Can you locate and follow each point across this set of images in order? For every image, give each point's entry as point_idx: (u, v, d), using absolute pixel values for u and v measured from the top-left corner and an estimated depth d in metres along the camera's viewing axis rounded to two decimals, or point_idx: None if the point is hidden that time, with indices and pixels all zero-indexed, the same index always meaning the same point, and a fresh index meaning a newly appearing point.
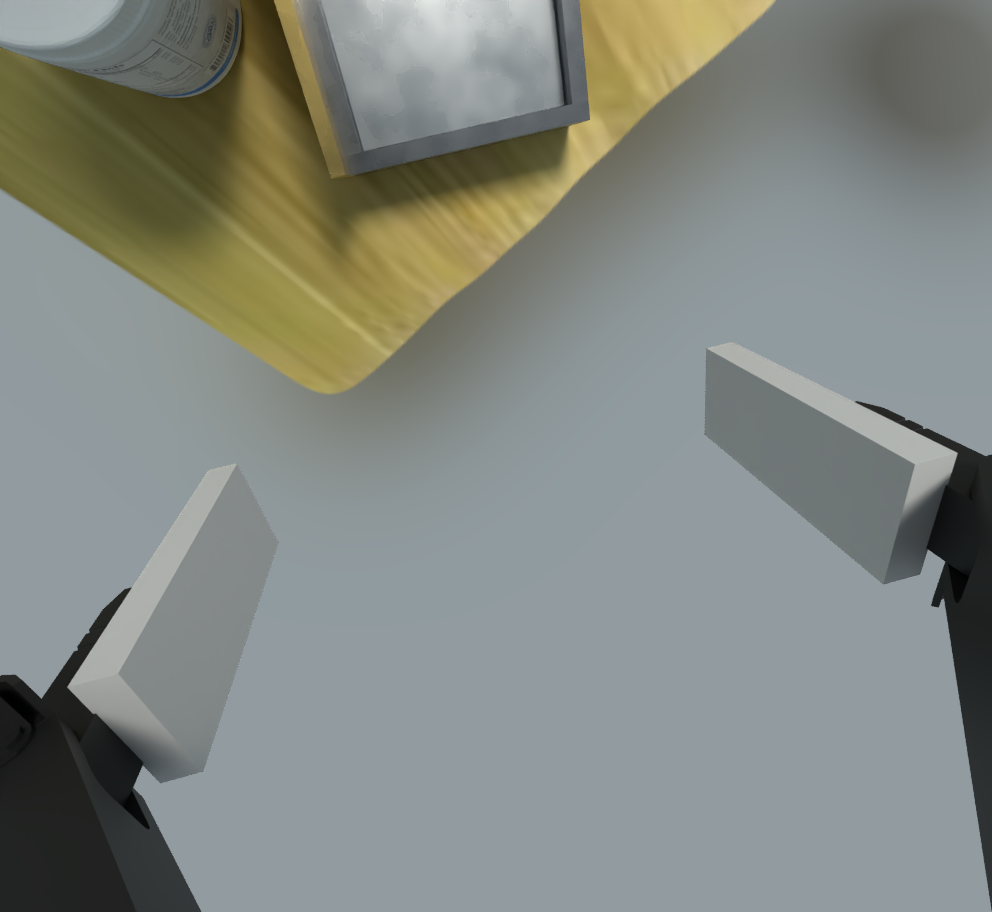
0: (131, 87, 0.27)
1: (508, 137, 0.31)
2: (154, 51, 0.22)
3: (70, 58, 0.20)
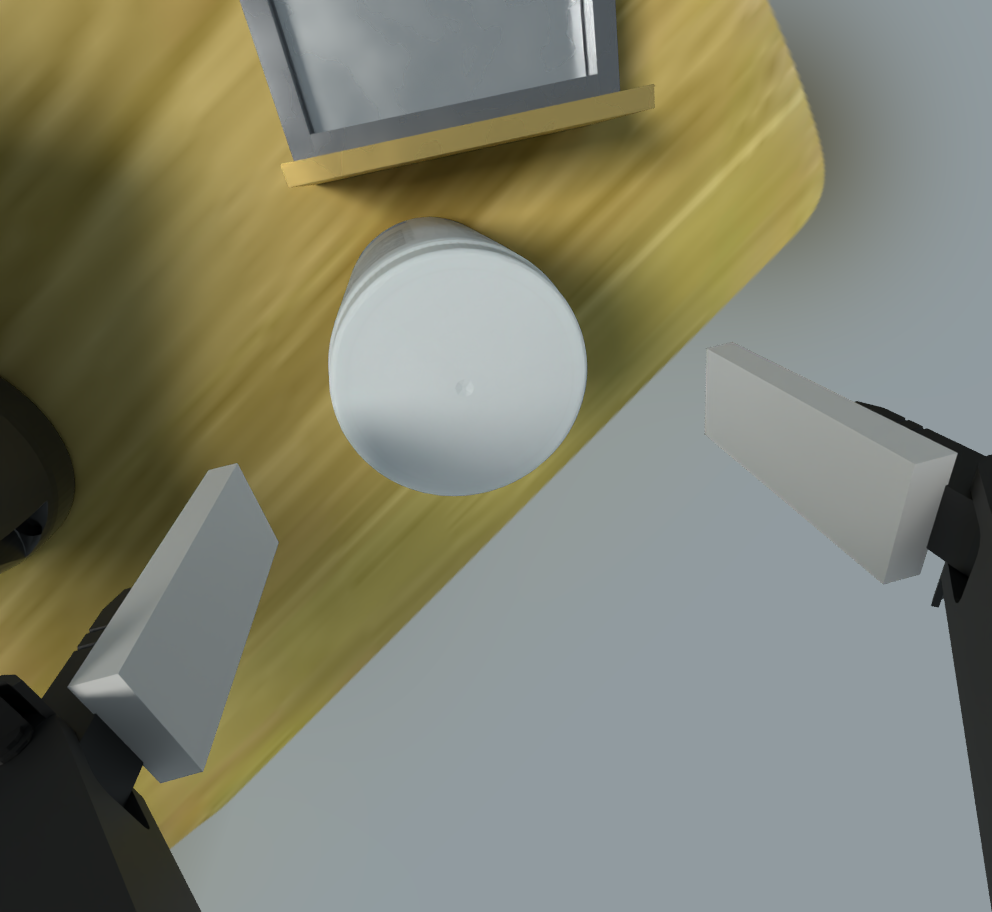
0: None
1: None
2: None
3: None
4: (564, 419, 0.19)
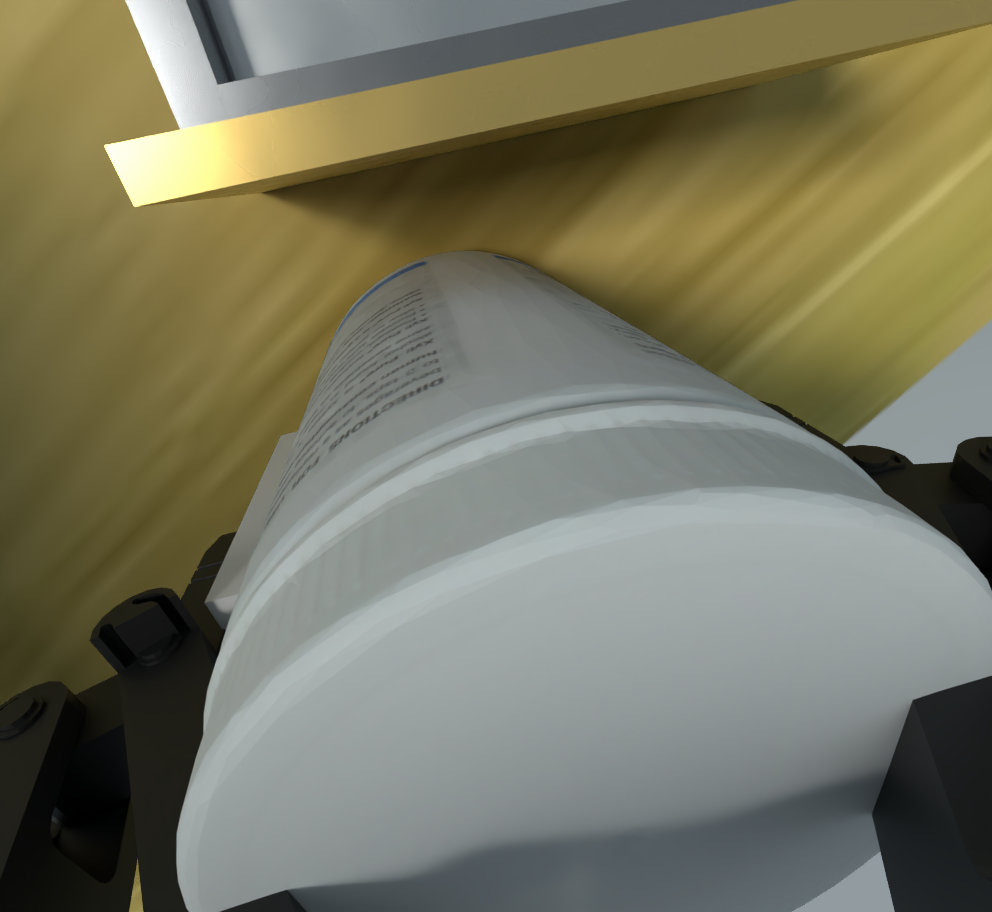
0: None
1: None
2: None
3: None
4: (871, 845, 0.07)
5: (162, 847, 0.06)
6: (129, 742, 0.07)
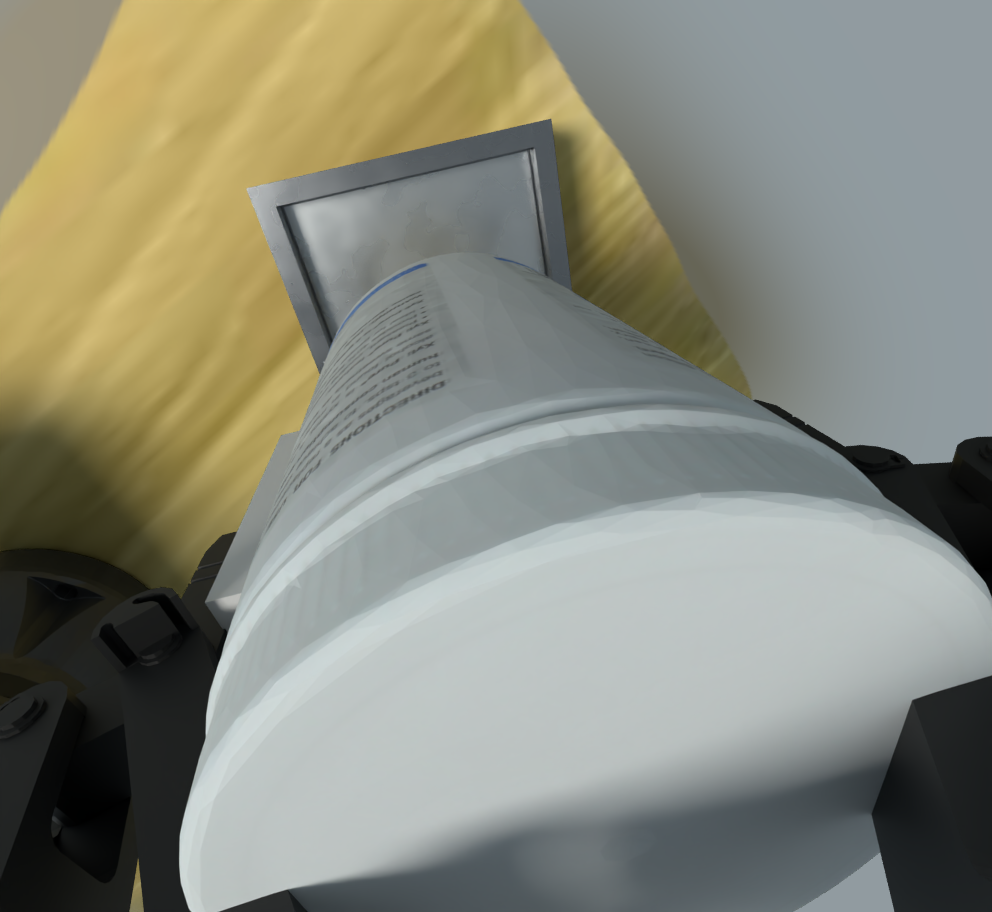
0: None
1: (563, 231, 0.27)
2: None
3: None
4: (871, 847, 0.07)
5: (162, 847, 0.06)
6: (129, 742, 0.07)
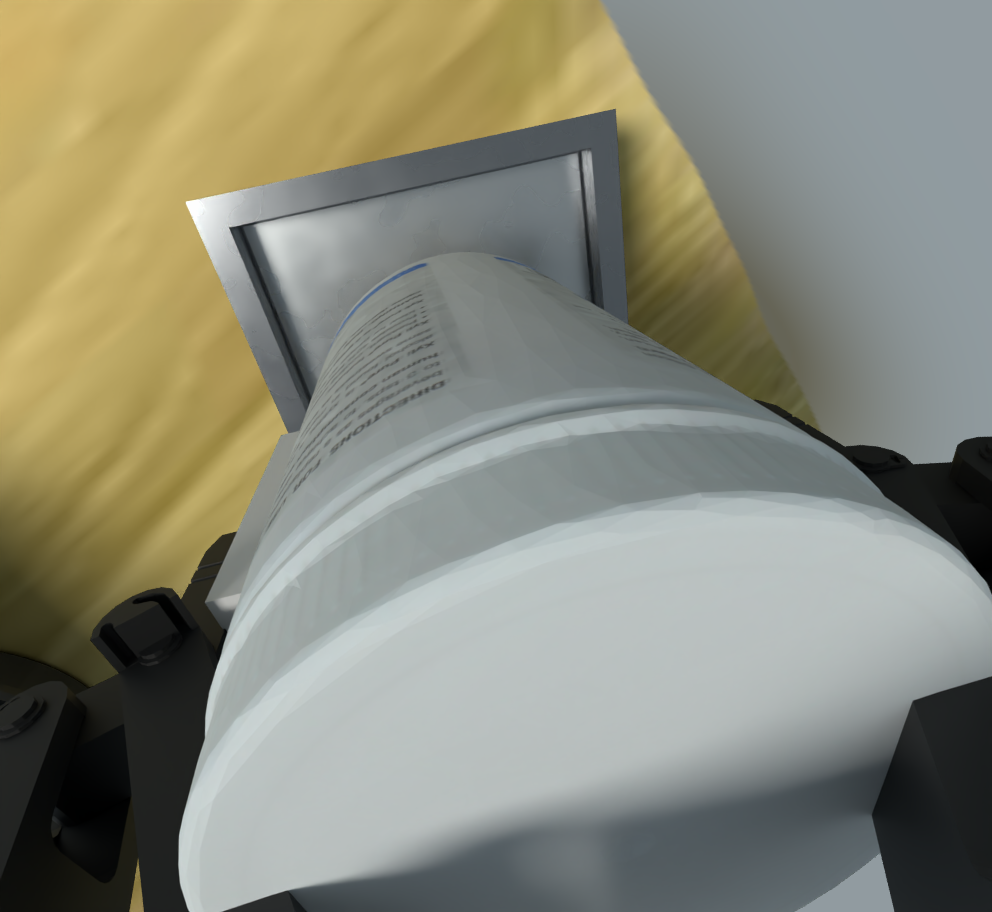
0: None
1: (622, 262, 0.20)
2: None
3: None
4: (871, 847, 0.07)
5: (162, 847, 0.06)
6: (129, 742, 0.07)
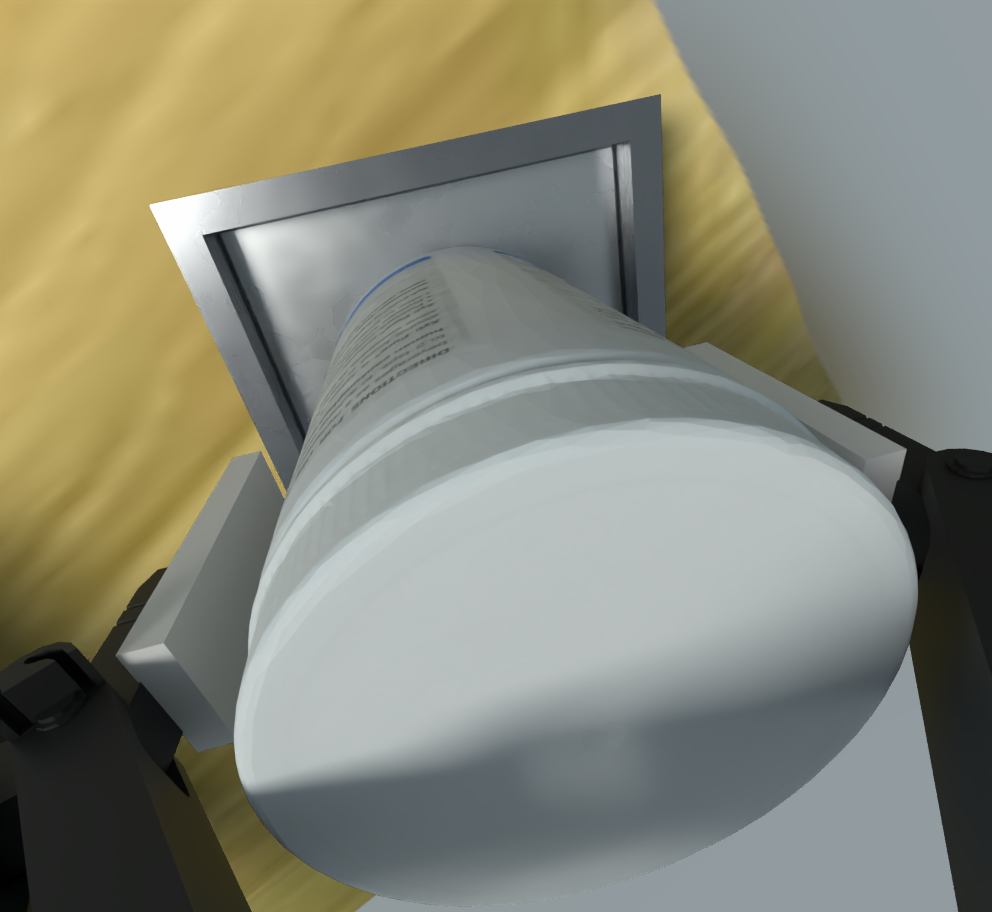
0: None
1: (662, 274, 0.18)
2: None
3: None
4: (819, 756, 0.08)
5: None
6: (24, 818, 0.06)
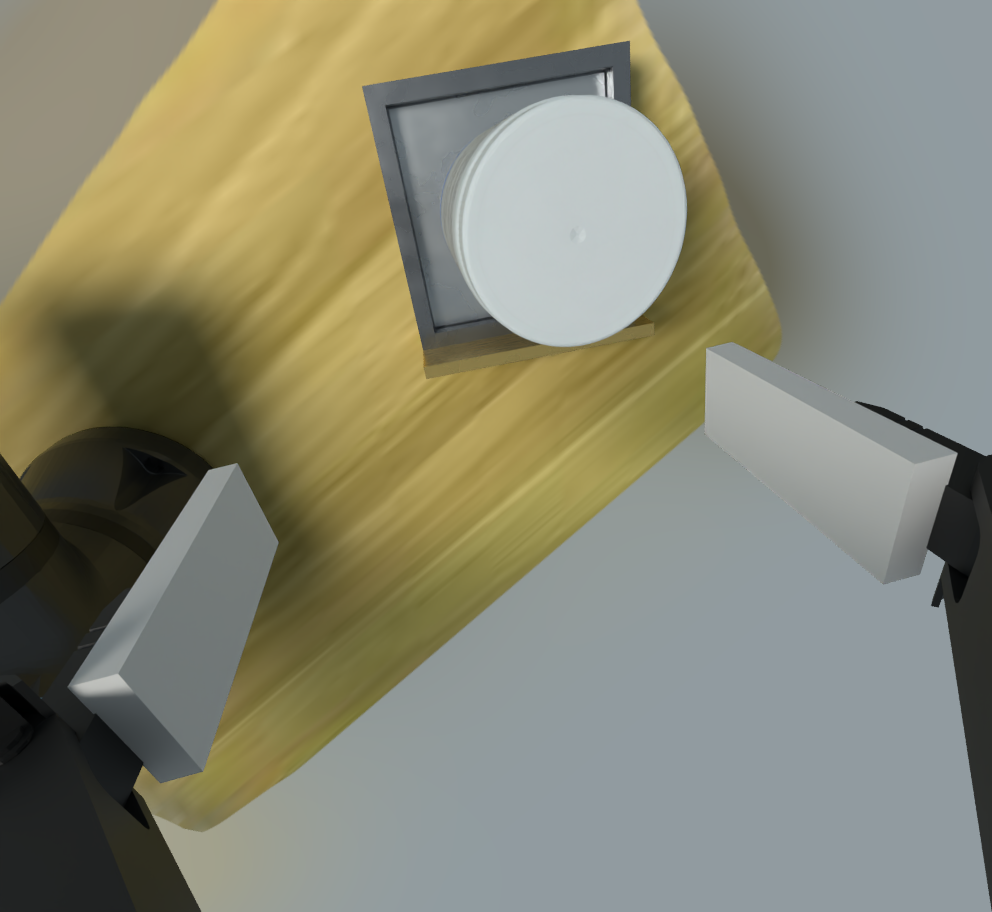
0: None
1: None
2: None
3: None
4: (660, 276, 0.21)
5: None
6: None
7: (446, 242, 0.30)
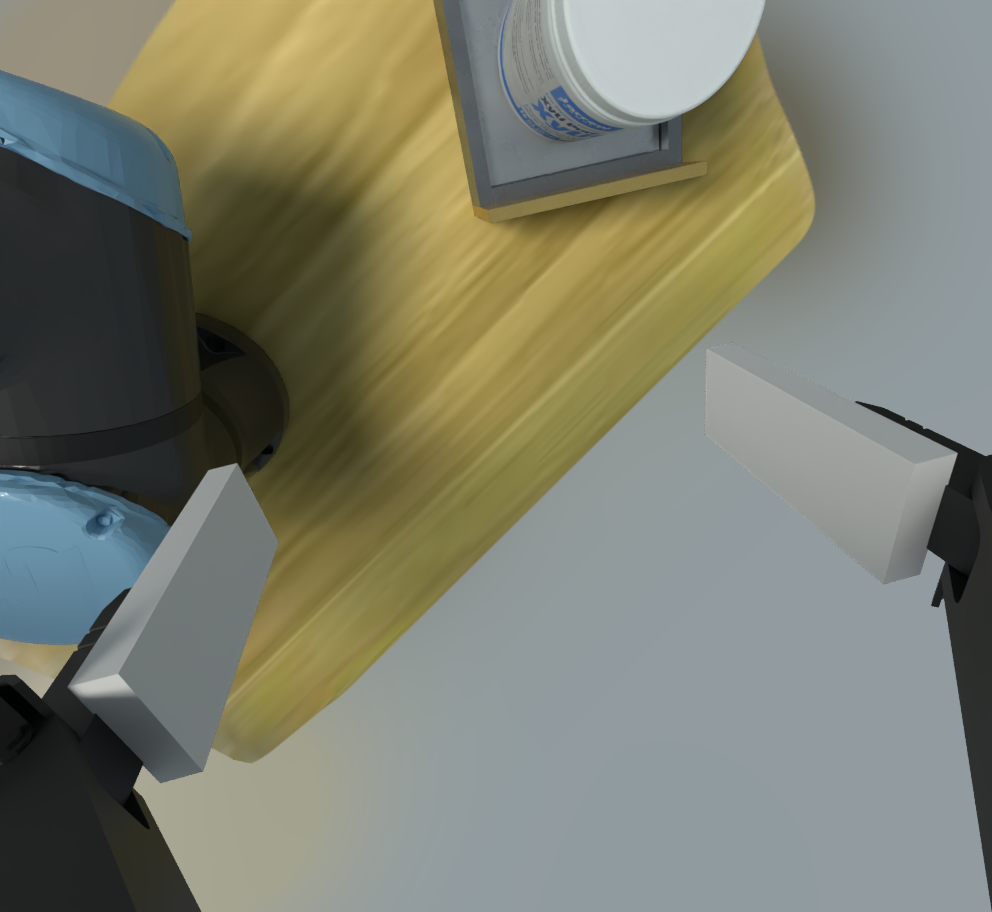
0: None
1: None
2: None
3: None
4: (744, 37, 0.23)
5: None
6: None
7: (508, 78, 0.31)
